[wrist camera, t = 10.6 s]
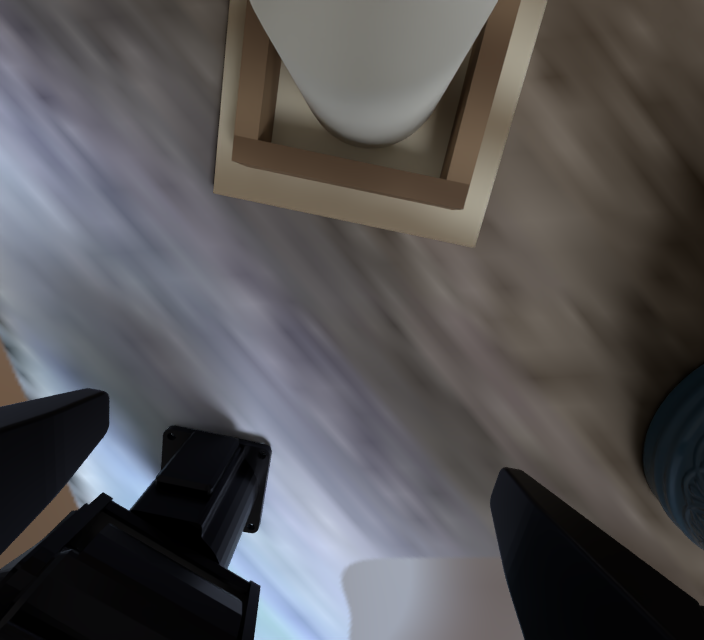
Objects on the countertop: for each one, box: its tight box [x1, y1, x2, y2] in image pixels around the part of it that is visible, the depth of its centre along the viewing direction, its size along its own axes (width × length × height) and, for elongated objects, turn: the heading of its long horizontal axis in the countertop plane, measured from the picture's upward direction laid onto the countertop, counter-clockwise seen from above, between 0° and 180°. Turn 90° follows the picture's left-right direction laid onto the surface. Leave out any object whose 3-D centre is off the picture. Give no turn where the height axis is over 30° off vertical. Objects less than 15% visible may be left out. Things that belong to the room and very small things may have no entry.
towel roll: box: [250, 0, 498, 148], centre depth 12 cm, size 6×6×8 cm
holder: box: [213, 0, 547, 248], centre depth 15 cm, size 13×13×3 cm
